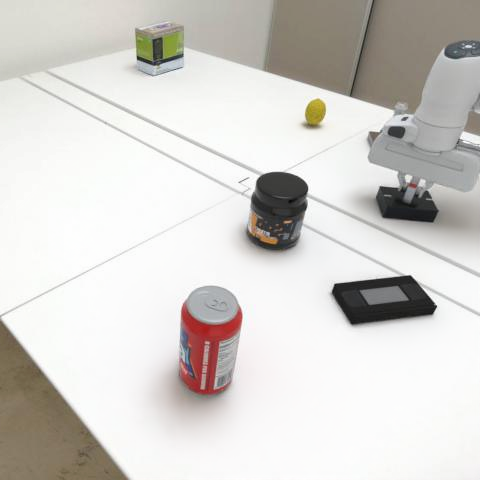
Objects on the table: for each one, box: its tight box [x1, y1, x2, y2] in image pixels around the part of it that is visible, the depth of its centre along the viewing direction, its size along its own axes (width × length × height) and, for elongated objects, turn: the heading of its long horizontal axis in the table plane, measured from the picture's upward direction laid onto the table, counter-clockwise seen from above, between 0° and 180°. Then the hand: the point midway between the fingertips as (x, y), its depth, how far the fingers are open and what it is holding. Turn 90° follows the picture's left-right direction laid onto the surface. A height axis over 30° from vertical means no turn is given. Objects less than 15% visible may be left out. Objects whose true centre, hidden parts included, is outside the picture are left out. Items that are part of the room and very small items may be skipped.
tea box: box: [134, 20, 185, 76], centre depth 165 cm, size 15×10×15 cm, turn 130°
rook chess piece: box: [392, 101, 409, 117], centre depth 126 cm, size 4×4×8 cm
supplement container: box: [246, 171, 309, 250], centre depth 88 cm, size 10×10×12 cm
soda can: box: [178, 285, 244, 396], centre depth 62 cm, size 8×8×15 cm
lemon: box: [304, 97, 327, 127], centre depth 129 cm, size 6×6×8 cm
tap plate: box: [375, 185, 440, 224], centre depth 98 cm, size 10×8×3 cm
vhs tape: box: [331, 274, 438, 325], centre depth 77 cm, size 8×14×2 cm, turn 99°
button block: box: [366, 127, 383, 149], centre depth 120 cm, size 10×8×4 cm
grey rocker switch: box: [402, 176, 422, 205], centre depth 95 cm, size 6×2×4 cm, turn 146°
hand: (409, 193), depth 96 cm, fingers closed on grey rocker switch, 2 cm apart
